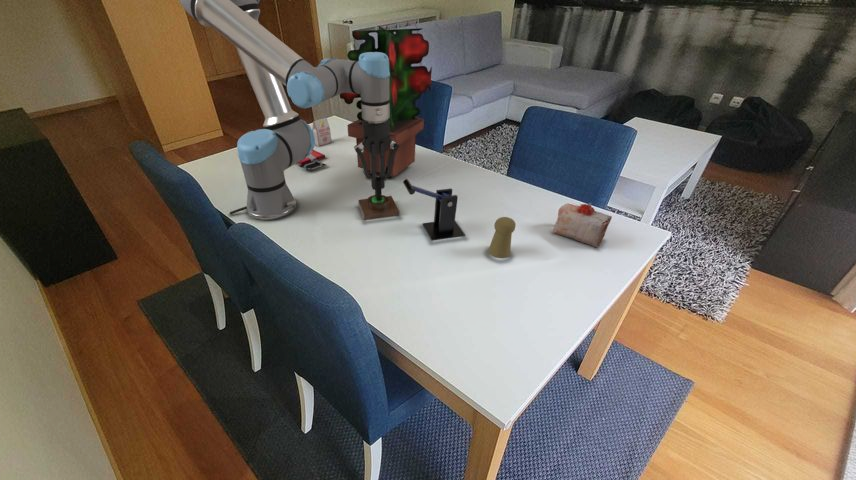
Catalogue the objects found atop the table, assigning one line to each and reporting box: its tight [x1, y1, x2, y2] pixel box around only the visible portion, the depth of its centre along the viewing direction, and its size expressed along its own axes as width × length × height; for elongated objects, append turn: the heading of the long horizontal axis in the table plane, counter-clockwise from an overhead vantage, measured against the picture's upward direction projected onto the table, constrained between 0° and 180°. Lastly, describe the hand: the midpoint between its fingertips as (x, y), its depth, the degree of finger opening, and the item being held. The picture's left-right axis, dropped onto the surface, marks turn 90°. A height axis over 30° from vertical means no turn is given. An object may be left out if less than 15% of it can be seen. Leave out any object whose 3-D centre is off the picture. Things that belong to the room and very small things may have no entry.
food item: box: [553, 202, 613, 248], centre depth 108 cm, size 14×8×10 cm, turn 51°
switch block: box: [357, 194, 400, 221], centre depth 121 cm, size 11×10×4 cm
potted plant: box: [339, 25, 433, 179], centre depth 132 cm, size 22×22×45 cm
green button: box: [372, 196, 385, 204], centre depth 120 cm, size 4×4×2 cm
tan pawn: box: [487, 216, 517, 259], centre depth 101 cm, size 6×6×11 cm
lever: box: [402, 178, 451, 202], centre depth 103 cm, size 14×6×2 cm, turn 104°
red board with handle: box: [296, 149, 327, 172], centre depth 155 cm, size 30×3×15 cm
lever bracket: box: [422, 188, 466, 242], centre depth 109 cm, size 10×9×13 cm
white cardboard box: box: [311, 117, 333, 147], centre depth 164 cm, size 4×7×10 cm, turn 131°
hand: (378, 198), depth 119 cm, fingers closed
